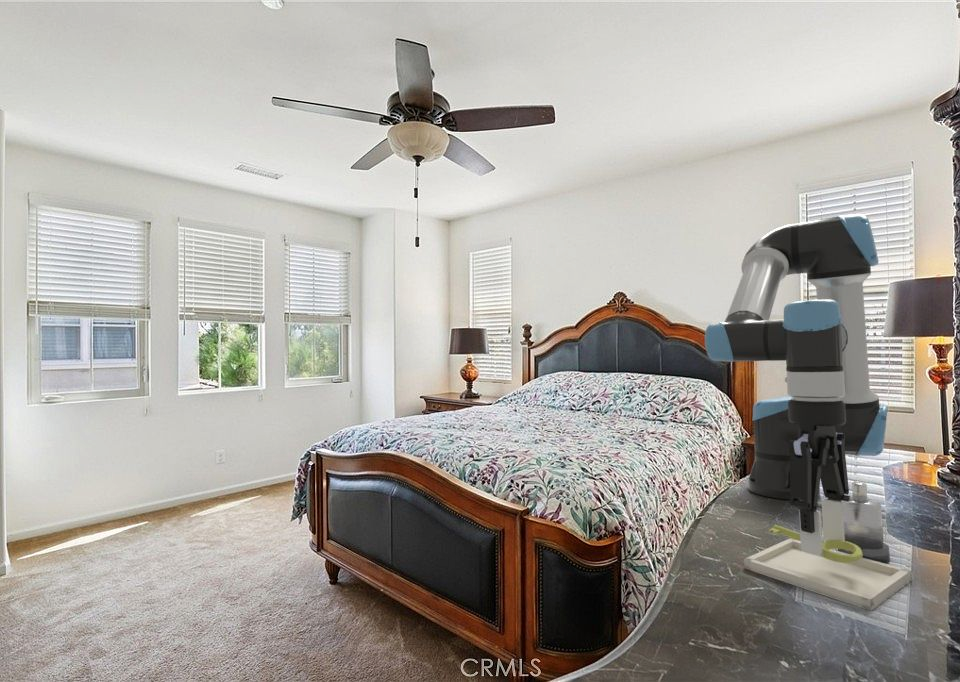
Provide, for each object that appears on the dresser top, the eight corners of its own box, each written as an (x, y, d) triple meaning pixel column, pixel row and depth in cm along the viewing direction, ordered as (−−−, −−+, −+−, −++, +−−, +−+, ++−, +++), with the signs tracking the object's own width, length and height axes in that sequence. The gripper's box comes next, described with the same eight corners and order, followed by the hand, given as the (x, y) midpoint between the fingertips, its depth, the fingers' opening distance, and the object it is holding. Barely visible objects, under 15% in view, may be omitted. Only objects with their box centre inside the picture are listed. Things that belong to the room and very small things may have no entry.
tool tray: (790, 546, 89) (789, 538, 89) (911, 580, 75) (911, 570, 75) (744, 568, 81) (743, 559, 81) (871, 610, 67) (870, 599, 67)
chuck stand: (848, 544, 89) (844, 476, 90) (896, 556, 84) (892, 484, 84) (830, 553, 86) (826, 482, 86) (880, 567, 80) (875, 491, 80)
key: (771, 536, 85) (770, 523, 85) (862, 552, 77) (862, 538, 77) (764, 548, 79) (764, 535, 79) (862, 567, 71) (862, 552, 72)
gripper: (818, 394, 87) (825, 527, 86) (757, 401, 76) (765, 554, 76) (869, 395, 81) (877, 539, 80) (812, 404, 70) (821, 571, 69)
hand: (823, 546), depth 78 cm, fingers closed on key, 7 cm apart
